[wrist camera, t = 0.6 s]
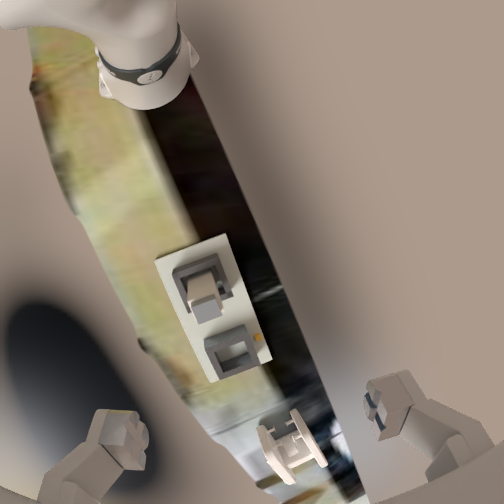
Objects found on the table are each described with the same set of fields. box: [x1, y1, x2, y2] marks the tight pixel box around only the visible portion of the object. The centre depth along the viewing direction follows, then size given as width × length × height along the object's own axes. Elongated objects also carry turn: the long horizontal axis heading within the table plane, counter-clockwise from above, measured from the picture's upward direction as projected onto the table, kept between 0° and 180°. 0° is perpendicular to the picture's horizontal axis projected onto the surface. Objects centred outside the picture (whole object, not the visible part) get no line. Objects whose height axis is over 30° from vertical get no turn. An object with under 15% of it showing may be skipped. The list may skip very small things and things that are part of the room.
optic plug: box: [187, 268, 225, 324], centre depth 45 cm, size 3×4×16 cm
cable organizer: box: [256, 408, 328, 485], centre depth 57 cm, size 15×11×12 cm
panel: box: [154, 233, 272, 383], centre depth 52 cm, size 26×13×5 cm, turn 19°
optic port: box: [203, 324, 261, 380], centre depth 53 cm, size 7×8×4 cm
